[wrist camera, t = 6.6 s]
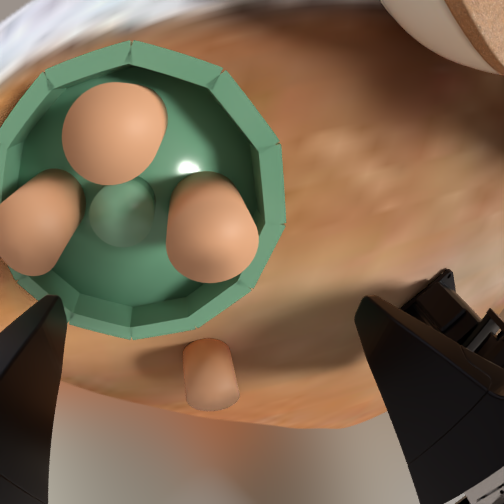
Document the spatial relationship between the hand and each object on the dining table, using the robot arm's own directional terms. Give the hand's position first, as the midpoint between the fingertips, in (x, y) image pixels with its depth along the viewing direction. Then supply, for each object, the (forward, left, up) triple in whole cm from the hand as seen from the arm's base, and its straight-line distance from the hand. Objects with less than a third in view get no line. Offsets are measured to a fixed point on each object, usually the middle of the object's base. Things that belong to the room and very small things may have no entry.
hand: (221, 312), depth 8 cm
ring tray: (+3, +3, -9) cm, 10 cm away
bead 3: (0, 0, -8) cm, 8 cm away
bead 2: (+5, 0, -8) cm, 10 cm away
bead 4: (-9, +8, -9) cm, 15 cm away
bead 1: (+5, +5, -8) cm, 11 cm away
